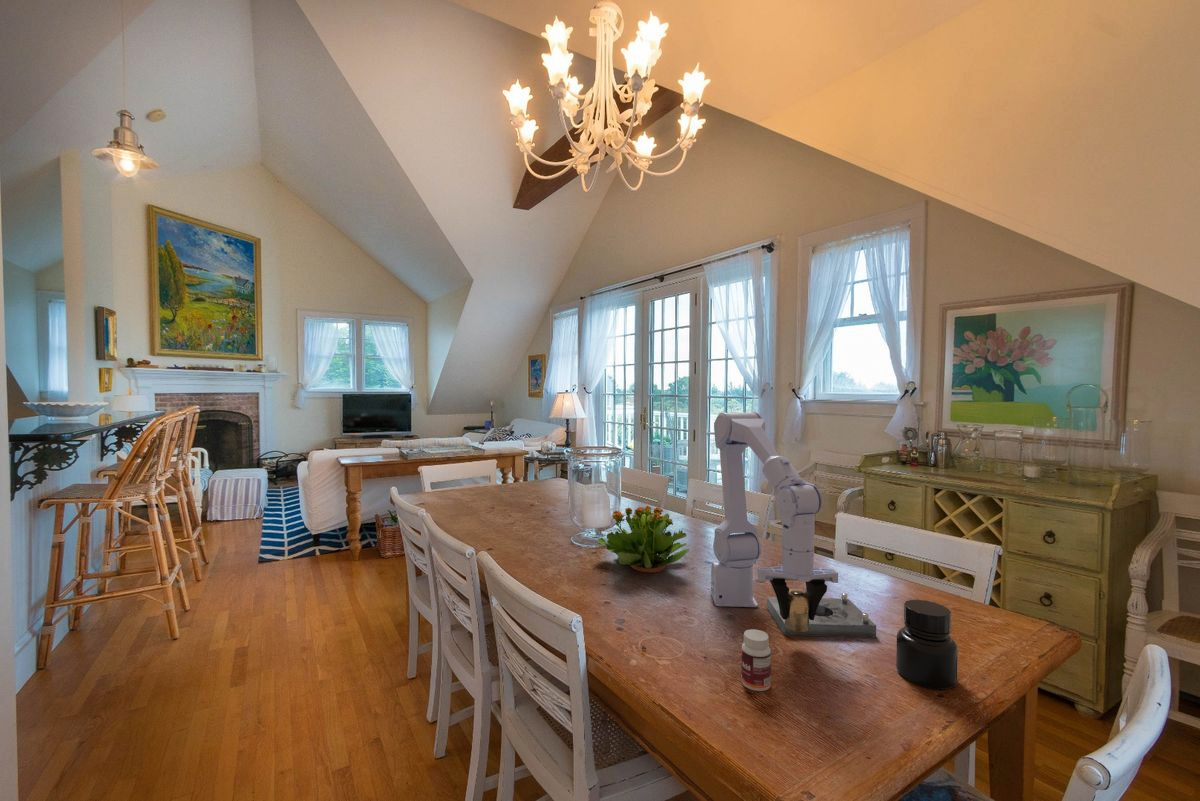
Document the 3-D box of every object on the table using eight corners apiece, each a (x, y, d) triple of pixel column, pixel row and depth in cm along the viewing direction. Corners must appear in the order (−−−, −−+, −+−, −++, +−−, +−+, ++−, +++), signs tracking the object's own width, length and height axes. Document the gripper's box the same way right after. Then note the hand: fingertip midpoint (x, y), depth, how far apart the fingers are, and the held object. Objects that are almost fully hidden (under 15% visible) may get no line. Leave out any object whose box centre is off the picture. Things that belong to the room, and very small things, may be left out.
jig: (784, 635, 103) (784, 615, 103) (766, 607, 116) (767, 589, 116) (876, 637, 102) (876, 617, 102) (848, 609, 115) (848, 591, 115)
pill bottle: (736, 676, 88) (737, 628, 88) (763, 675, 89) (764, 627, 89) (747, 692, 84) (747, 642, 83) (775, 691, 84) (775, 641, 84)
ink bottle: (972, 686, 86) (973, 615, 85) (934, 697, 83) (936, 623, 82) (918, 657, 95) (919, 593, 94) (882, 666, 92) (883, 600, 91)
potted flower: (670, 549, 157) (670, 493, 157) (713, 576, 135) (714, 510, 135) (594, 559, 149) (594, 499, 148) (626, 589, 126) (626, 519, 126)
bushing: (788, 631, 97) (789, 597, 96) (781, 620, 101) (782, 588, 101) (812, 632, 96) (813, 598, 96) (804, 621, 101) (805, 588, 100)
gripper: (765, 553, 95) (764, 626, 95) (845, 555, 94) (844, 628, 94) (755, 541, 102) (754, 609, 102) (830, 543, 101) (829, 611, 101)
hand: (796, 617), depth 99 cm, fingers closed on bushing, 4 cm apart
